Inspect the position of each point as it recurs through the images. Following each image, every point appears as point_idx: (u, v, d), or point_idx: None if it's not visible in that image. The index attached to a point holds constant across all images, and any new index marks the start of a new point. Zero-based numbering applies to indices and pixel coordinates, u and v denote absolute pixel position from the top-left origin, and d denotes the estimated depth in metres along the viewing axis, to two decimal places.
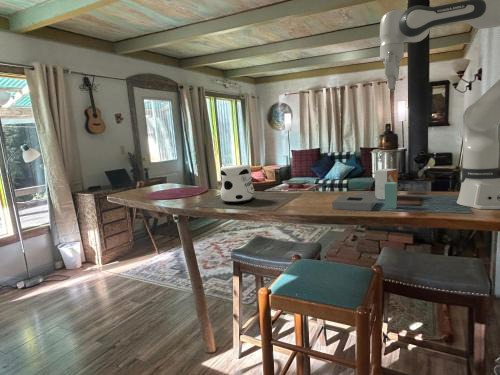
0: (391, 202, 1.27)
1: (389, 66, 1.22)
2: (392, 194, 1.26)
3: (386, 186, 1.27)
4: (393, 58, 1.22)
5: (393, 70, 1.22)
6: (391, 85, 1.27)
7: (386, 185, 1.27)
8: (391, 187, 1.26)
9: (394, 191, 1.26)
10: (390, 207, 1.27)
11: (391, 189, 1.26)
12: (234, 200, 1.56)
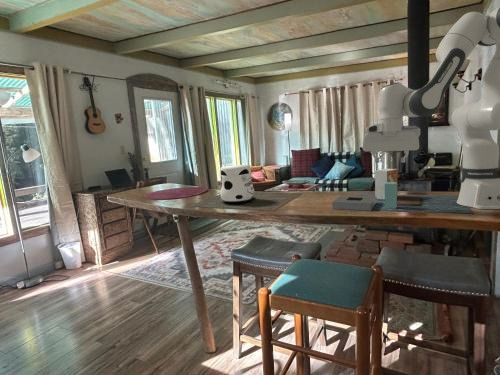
0: (391, 202, 1.27)
1: (418, 142, 1.20)
2: (392, 194, 1.26)
3: (386, 186, 1.27)
4: None
5: None
6: None
7: (386, 185, 1.27)
8: (391, 187, 1.26)
9: (394, 191, 1.26)
10: (390, 207, 1.27)
11: (391, 189, 1.26)
12: (234, 200, 1.56)
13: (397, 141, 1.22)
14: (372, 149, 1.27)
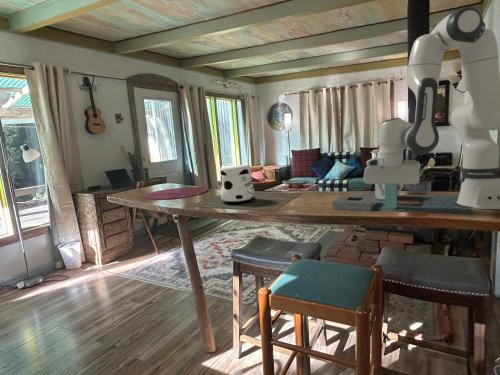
0: (391, 202, 1.27)
1: (418, 176, 1.22)
2: (392, 194, 1.26)
3: (386, 186, 1.27)
4: None
5: None
6: None
7: (386, 185, 1.27)
8: (391, 187, 1.26)
9: (394, 191, 1.26)
10: (390, 207, 1.27)
11: (391, 189, 1.26)
12: (234, 200, 1.56)
13: (397, 175, 1.24)
14: (373, 182, 1.29)
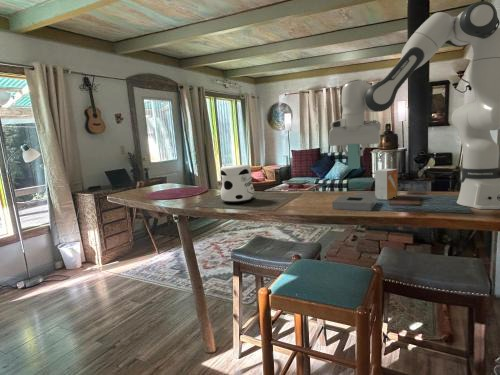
0: (354, 162, 1.31)
1: (379, 135, 1.27)
2: (354, 154, 1.31)
3: (349, 147, 1.31)
4: None
5: None
6: (362, 153, 1.31)
7: (349, 146, 1.31)
8: (354, 147, 1.30)
9: (356, 151, 1.30)
10: (353, 167, 1.32)
11: (354, 149, 1.30)
12: (234, 200, 1.56)
13: (359, 135, 1.29)
14: (337, 143, 1.34)
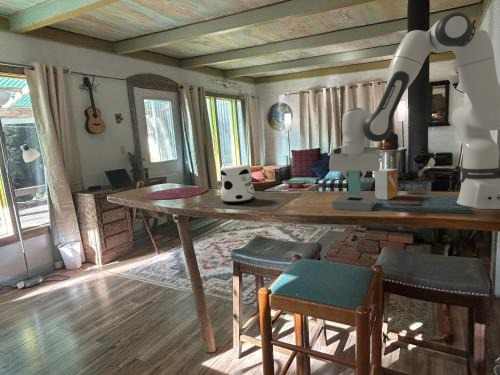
0: (354, 189, 1.33)
1: (379, 163, 1.28)
2: (355, 181, 1.32)
3: (349, 173, 1.33)
4: None
5: None
6: None
7: (349, 172, 1.33)
8: (354, 174, 1.32)
9: (357, 178, 1.32)
10: (353, 193, 1.33)
11: (354, 176, 1.32)
12: (234, 200, 1.56)
13: (359, 162, 1.30)
14: (338, 169, 1.35)
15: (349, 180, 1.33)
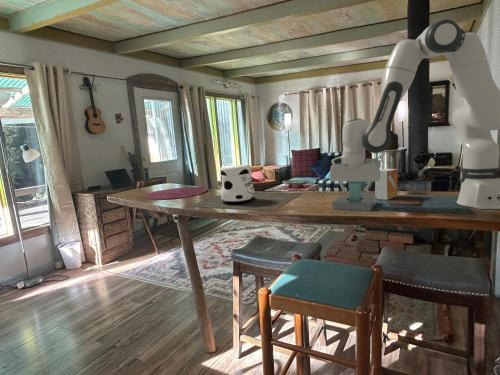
0: None
1: (379, 173, 1.29)
2: (356, 193, 1.33)
3: (350, 186, 1.34)
4: None
5: None
6: (367, 189, 1.33)
7: (350, 185, 1.34)
8: (355, 186, 1.33)
9: (357, 190, 1.32)
10: None
11: (355, 188, 1.33)
12: (234, 200, 1.56)
13: (360, 172, 1.31)
14: (338, 179, 1.36)
15: (350, 192, 1.34)
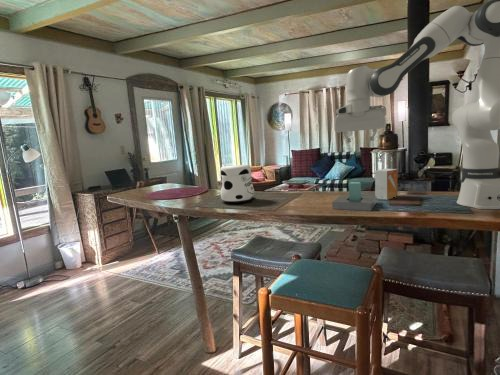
0: None
1: (385, 120, 1.28)
2: (356, 193, 1.33)
3: (350, 186, 1.34)
4: None
5: None
6: None
7: (350, 185, 1.34)
8: (355, 186, 1.33)
9: (357, 190, 1.32)
10: None
11: (355, 188, 1.33)
12: (234, 200, 1.56)
13: (365, 121, 1.30)
14: (343, 130, 1.34)
15: (350, 192, 1.34)
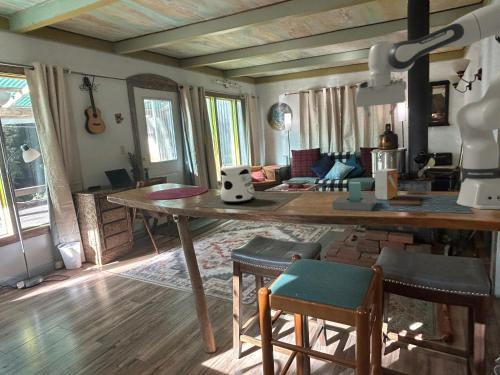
0: None
1: None
2: (356, 193, 1.33)
3: (350, 186, 1.34)
4: None
5: None
6: (393, 112, 1.37)
7: (350, 185, 1.34)
8: (355, 186, 1.33)
9: (357, 190, 1.32)
10: None
11: (355, 188, 1.33)
12: (234, 200, 1.56)
13: (385, 95, 1.36)
14: (364, 104, 1.41)
15: (350, 192, 1.34)
